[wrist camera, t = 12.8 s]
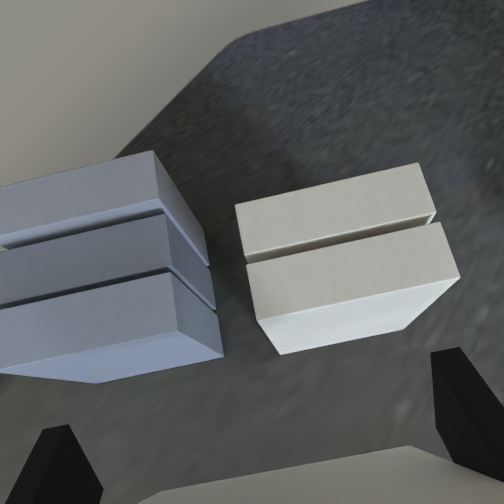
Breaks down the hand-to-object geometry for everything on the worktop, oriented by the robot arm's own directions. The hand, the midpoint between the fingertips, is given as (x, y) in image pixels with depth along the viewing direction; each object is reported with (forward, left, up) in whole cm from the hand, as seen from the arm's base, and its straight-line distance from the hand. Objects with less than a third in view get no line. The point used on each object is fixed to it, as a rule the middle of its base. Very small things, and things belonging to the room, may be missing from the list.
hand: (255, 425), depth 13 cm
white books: (-3, +9, -23) cm, 25 cm away
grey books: (-15, -1, -23) cm, 28 cm away
